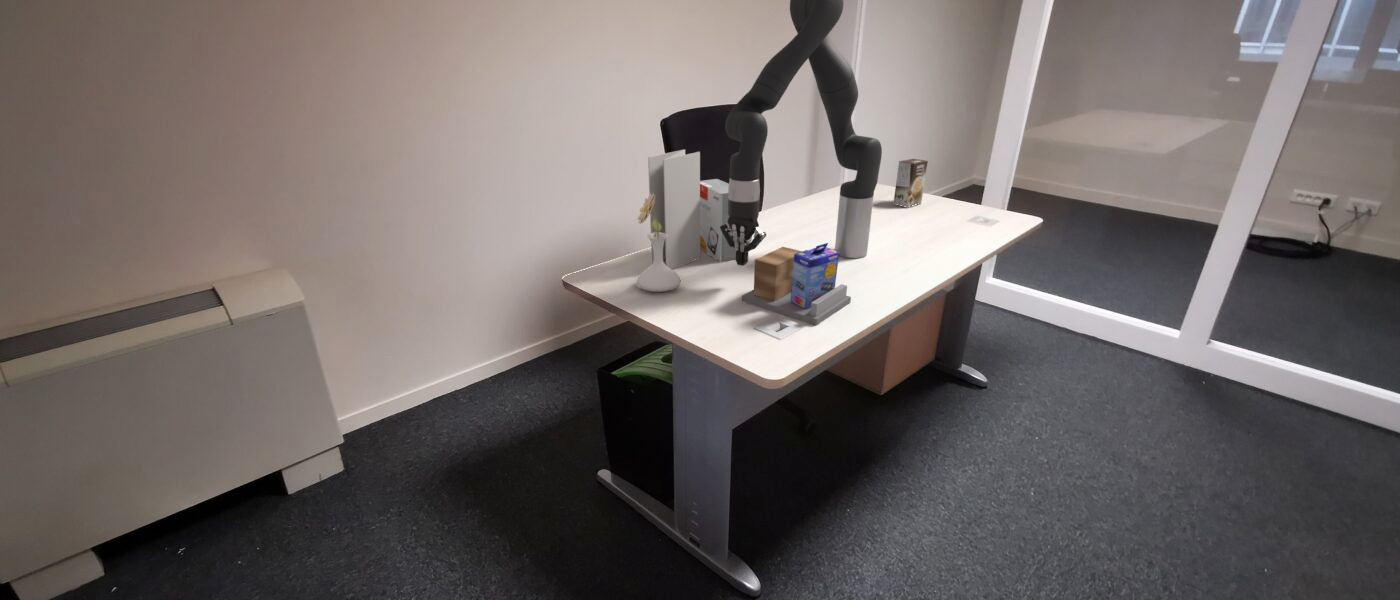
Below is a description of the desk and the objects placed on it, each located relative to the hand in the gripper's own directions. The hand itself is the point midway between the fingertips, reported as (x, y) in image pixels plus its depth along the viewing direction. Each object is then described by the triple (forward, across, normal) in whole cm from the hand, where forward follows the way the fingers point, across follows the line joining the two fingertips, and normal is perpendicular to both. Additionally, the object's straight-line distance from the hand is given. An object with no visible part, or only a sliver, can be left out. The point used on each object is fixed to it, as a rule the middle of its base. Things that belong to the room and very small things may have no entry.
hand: (741, 264), depth 157 cm
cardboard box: (+4, -11, 0) cm, 12 cm away
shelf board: (+6, -16, 0) cm, 17 cm away
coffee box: (+5, -1, -102) cm, 102 cm away
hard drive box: (+6, +20, -16) cm, 26 cm away
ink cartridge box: (+4, -21, 0) cm, 21 cm away
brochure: (+6, +24, -2) cm, 25 cm away
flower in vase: (+6, +15, +15) cm, 22 cm away
